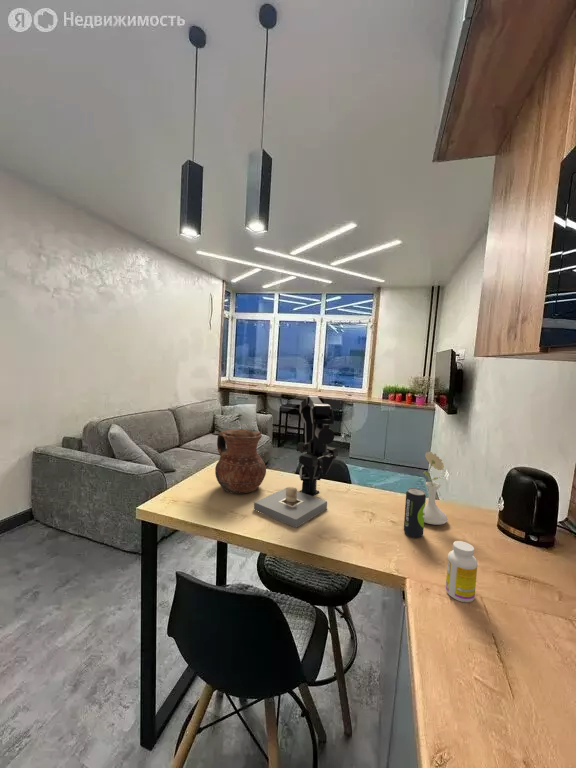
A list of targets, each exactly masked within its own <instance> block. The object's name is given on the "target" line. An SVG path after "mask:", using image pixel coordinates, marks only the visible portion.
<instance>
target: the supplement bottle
mask: <svg viewBox="0 0 576 768" xmlns="http://www.w3.org/2000/svg"><path fill="white" fill-rule="evenodd" d="M474 554H475V547H474V546H473V545H472V544H470V543H468V542H465V541H463V540H455V541H454V542H453V543H452V550H450V551H449V552H448V554H447V566H446V575H445V576H446V579H445V591H446V593H447V594H448V596H450V597H451V598H452V599H455V600H456V601H459V602H461V603H462V602H463V603H470V602H473V601H474V600H475V598H476V587H477V574H478V573H477V572H478V561H477V558H476V557H475V556H474Z"/></svg>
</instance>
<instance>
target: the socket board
mask: <svg viewBox="0 0 576 768" xmlns="http://www.w3.org/2000/svg"><path fill="white" fill-rule="evenodd" d="M288 487H289V486H287V487H285V488H283V489H279V490H278V491H276V492H274V493H271V494H269V495H267V496H265V497H262V498H260V499H258V500H256V501H253V510H254V509H255V510H254V511H256V510H257V511H256V512H258V511H259V512H258V513H260V512H261V513H260V514H262V513H263V515H265V516H267V517H268V518H272V519H275V520H277V521H279V522H281V523H283V524H285V525H288V526H290V527H293V528H295V529H297V528H298V527H300V526H301V525H303V524H305V523H306V522H307V521H309V520H311V519H312V518H314V517H316V516H317V515H319V514H320V513H322V512H324V511H326V510H327V509H328V501H327V500H326V499H325V500H324V499H322V498H319V497H316V496H315V495H313V496H311V495H308V494H305V493H302V492H299V491H300V490H297V501H296V502H295V505H293V506H291V505H289V504H287V502H286V488H288Z"/></svg>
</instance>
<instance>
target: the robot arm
mask: <svg viewBox="0 0 576 768" xmlns="http://www.w3.org/2000/svg"><path fill="white" fill-rule="evenodd" d="M299 414H300V418H301V420H302V421H303V423H304V442H303V441H302V442H298V443H297V447H296V450H297V451H298V452H299V453H300V454H301V455H300V456H298V463H299V464H301V466H300V469H299V478H300V481H302V484H301V489H300V490H298V491H299V492H302V493H305V494H308V495H311V496H315V495H317V494H319V493H320V491H319V490H317V482H318V481H321V480H322V474H323V475H325V476H326V475H327V474H328V472H329V470H330V468H331V467H332V465H333V463H334V461H335V460H336V459H337V456H339V450H338V448H337V447H331V446H328V445H329V444H332V442H333V441H334V439H335V433H334V431H333V430H332V428H330V425H334V424H335V423H334V422H335V415H334V410H333V408H332V407H331V405H330V404H328V403H323V402H322V401H321V399H320V397H319V396H318V395H306V397H305V398H304V399H303V400H301V402H300V405H299ZM320 459H321V460H322V466H321V464H320V463H321V462H320Z"/></svg>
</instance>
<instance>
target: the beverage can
mask: <svg viewBox="0 0 576 768" xmlns="http://www.w3.org/2000/svg"><path fill="white" fill-rule="evenodd" d="M426 500H427V496H426V491H425V490H423V489H421V488H417V487H409V488H407V490H406V492H405V504H404V505H405V507H404V521H403V531H404V534H406V535H407V536H408V537H410V538H413V539H415V538H416V539H419V538H421V537H422V536H423V535H424V527H425V522H424V516H425V504H426Z"/></svg>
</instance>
